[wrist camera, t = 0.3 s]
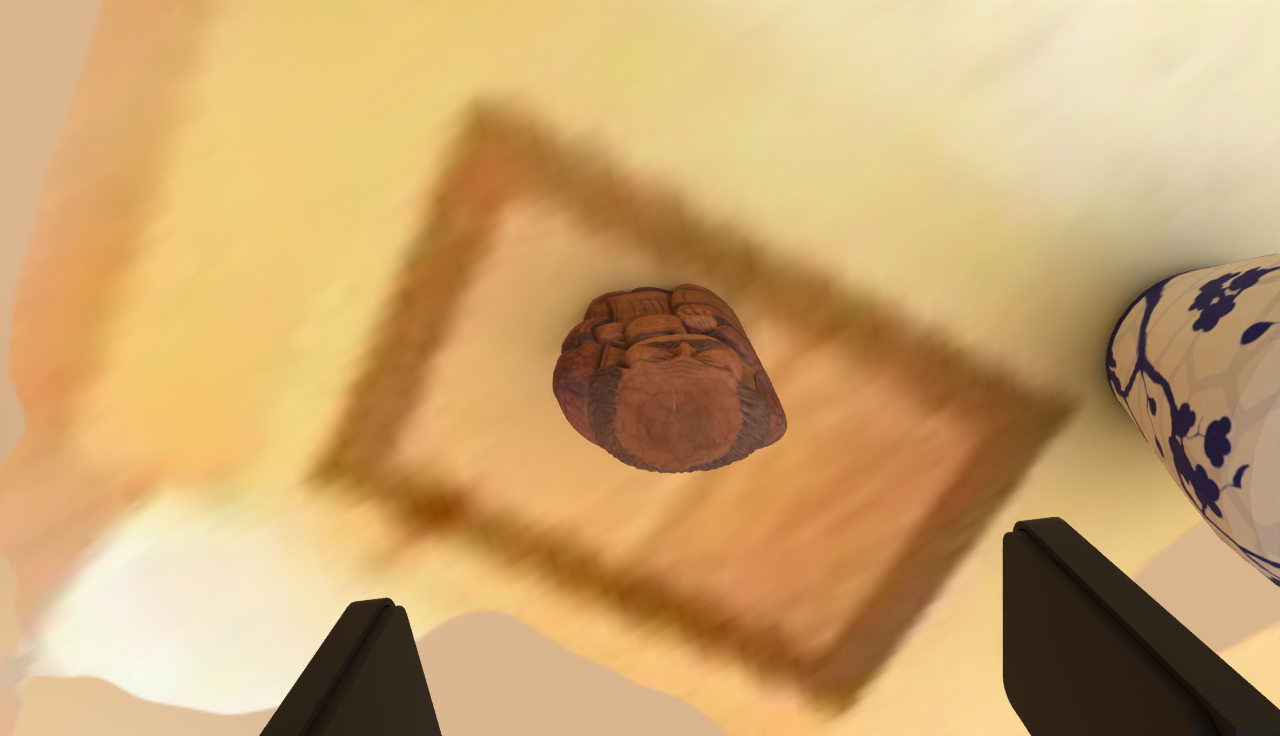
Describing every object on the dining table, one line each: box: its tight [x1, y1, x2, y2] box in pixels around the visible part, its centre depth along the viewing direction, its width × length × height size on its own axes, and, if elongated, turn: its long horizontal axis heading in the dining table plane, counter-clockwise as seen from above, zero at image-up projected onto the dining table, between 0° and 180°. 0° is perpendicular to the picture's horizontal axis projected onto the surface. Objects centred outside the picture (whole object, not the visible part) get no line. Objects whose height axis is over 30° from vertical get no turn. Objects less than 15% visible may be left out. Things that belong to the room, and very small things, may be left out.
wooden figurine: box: [553, 285, 787, 474], centre depth 38 cm, size 12×6×18 cm, turn 92°
